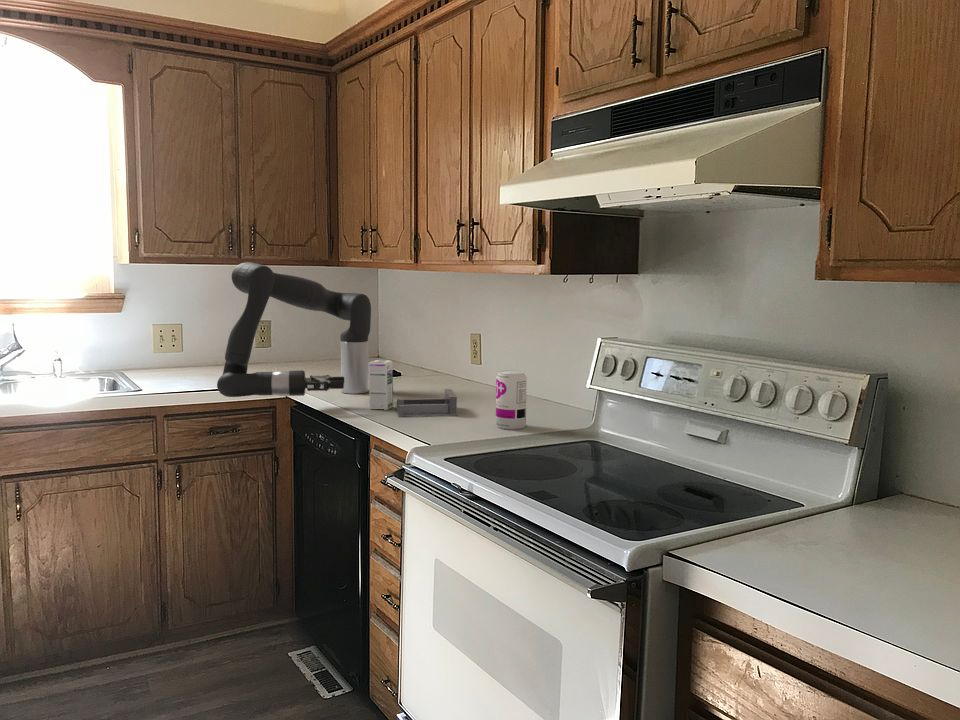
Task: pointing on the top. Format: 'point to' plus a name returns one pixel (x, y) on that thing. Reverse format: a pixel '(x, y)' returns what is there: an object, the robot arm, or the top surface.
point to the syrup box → (381, 384)
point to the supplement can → (511, 399)
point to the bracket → (429, 406)
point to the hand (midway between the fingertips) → (344, 382)
